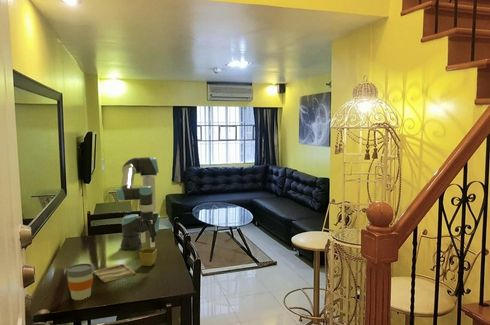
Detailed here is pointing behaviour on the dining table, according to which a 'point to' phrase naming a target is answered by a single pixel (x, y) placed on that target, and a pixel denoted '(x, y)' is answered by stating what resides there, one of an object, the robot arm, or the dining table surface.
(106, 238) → the dining table surface
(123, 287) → the dining table surface
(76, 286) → the reusable coffee cup
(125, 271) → the holder tray
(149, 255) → the flower pot
